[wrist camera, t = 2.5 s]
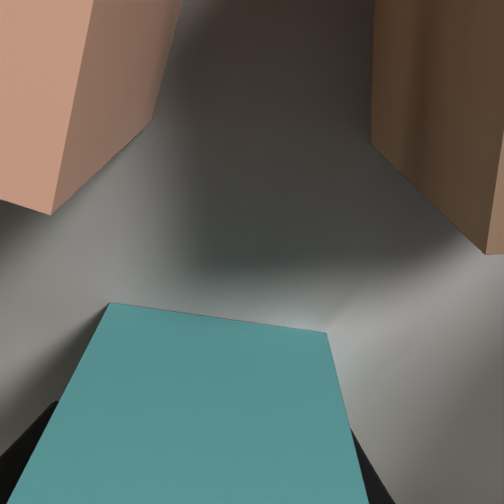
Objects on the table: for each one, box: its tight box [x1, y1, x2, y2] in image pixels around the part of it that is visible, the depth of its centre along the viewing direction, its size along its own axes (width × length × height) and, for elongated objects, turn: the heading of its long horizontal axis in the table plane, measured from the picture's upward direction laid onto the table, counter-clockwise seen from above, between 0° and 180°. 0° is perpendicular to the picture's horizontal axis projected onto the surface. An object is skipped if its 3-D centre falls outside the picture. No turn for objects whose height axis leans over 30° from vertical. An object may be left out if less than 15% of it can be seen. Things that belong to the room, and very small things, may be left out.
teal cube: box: [7, 303, 369, 504], centre depth 10 cm, size 5×5×5 cm
